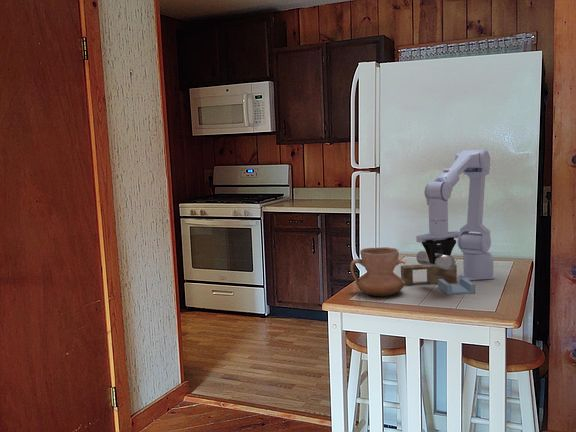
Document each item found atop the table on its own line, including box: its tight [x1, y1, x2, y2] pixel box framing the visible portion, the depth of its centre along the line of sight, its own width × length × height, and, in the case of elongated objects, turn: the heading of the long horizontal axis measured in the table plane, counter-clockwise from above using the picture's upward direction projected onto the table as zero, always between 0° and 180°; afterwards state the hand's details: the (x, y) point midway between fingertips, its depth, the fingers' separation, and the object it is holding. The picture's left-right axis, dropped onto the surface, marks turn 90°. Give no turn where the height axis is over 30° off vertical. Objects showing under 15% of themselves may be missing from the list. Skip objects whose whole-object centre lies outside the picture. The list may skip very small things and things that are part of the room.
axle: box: [415, 250, 456, 270], centre depth 174 cm, size 4×16×4 cm, turn 16°
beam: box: [400, 263, 458, 287], centre depth 186 cm, size 18×4×6 cm, turn 93°
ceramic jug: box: [350, 246, 407, 297], centre depth 176 cm, size 18×14×14 cm
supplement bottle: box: [433, 240, 443, 254], centre depth 209 cm, size 7×7×12 cm
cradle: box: [437, 277, 476, 296], centre depth 175 cm, size 9×9×3 cm
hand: (439, 262), depth 172 cm, fingers closed on axle, 4 cm apart
